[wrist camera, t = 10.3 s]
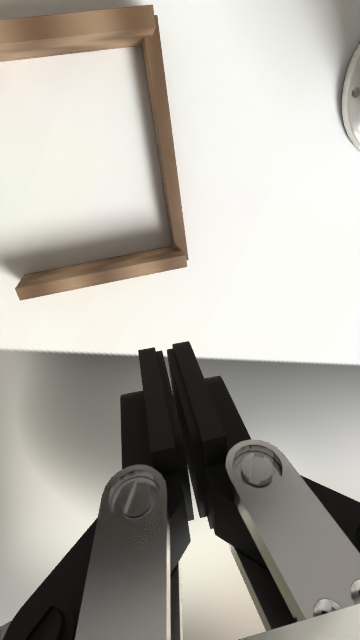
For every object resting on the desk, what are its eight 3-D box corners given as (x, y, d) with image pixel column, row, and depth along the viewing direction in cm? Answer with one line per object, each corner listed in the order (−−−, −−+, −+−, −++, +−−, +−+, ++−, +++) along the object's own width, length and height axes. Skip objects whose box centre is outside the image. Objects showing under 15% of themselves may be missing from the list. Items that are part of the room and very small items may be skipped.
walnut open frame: (153, 24, 26) (161, 3, 22) (184, 254, 35) (192, 265, 31) (-65, 48, 24) (-95, 29, 20) (29, 285, 33) (19, 300, 29)
